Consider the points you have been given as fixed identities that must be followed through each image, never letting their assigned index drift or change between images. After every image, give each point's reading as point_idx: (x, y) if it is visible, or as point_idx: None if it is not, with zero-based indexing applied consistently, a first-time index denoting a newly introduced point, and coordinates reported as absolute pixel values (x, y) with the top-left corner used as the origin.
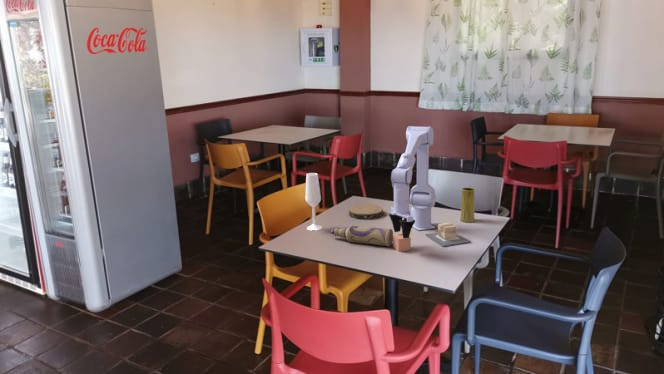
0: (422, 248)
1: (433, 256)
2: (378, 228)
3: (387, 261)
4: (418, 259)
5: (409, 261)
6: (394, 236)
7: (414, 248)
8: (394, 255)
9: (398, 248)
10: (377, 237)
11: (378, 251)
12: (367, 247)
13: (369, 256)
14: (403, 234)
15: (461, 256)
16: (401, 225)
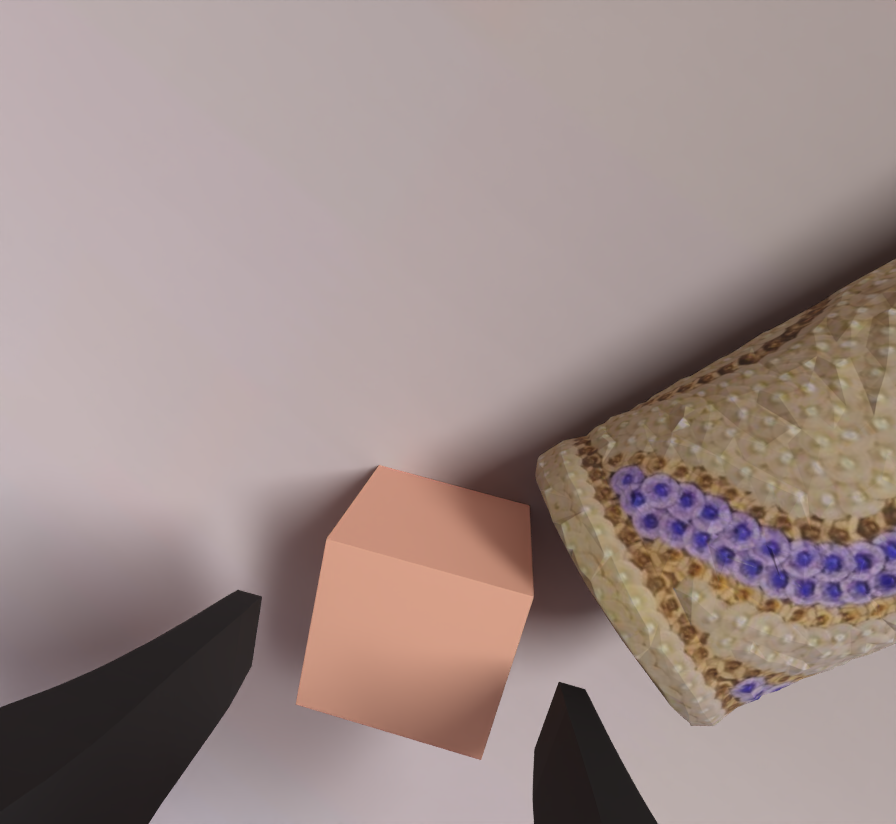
0: None
1: (102, 628)
2: (890, 563)
3: (202, 167)
4: (100, 479)
5: (94, 374)
6: (470, 579)
7: None
8: (312, 356)
9: (369, 480)
10: (709, 396)
11: (533, 280)
12: (757, 245)
13: (464, 59)
14: (188, 621)
15: None
16: (23, 743)
